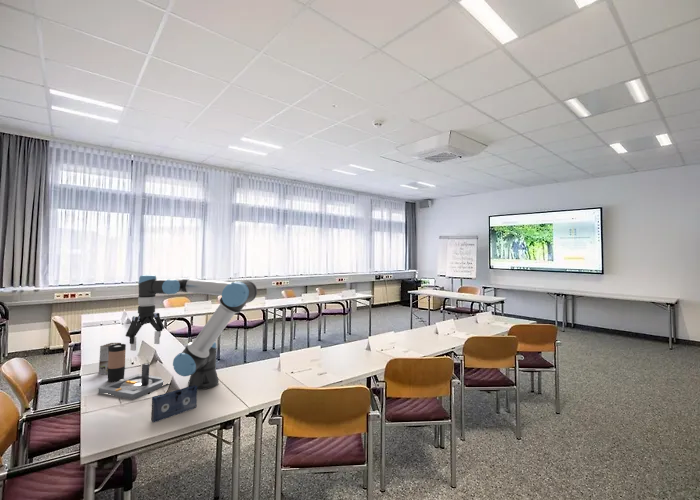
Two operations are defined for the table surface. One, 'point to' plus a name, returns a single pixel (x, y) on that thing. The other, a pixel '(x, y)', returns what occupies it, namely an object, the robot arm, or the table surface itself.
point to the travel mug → (116, 362)
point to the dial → (138, 380)
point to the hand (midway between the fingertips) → (145, 347)
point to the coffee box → (104, 358)
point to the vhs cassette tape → (173, 403)
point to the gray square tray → (119, 392)
